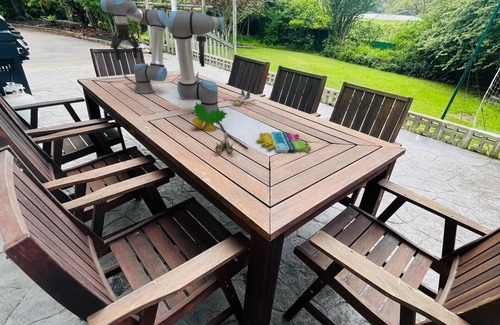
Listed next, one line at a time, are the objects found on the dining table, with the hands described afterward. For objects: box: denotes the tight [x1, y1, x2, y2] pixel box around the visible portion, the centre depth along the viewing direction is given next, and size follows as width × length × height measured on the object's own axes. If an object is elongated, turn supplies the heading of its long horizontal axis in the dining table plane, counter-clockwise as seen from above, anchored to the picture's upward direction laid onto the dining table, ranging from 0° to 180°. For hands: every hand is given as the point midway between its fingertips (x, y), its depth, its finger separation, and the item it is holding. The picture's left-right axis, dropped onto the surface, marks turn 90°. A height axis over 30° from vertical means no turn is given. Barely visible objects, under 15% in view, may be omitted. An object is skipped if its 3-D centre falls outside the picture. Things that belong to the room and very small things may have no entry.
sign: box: [256, 131, 312, 154], centre depth 152 cm, size 26×2×30 cm
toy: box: [223, 89, 257, 106], centre depth 219 cm, size 28×7×30 cm
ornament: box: [191, 102, 228, 132], centre depth 162 cm, size 21×8×15 cm, turn 105°
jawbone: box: [214, 131, 234, 156], centre depth 136 cm, size 9×15×10 cm
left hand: (127, 58), depth 179 cm, fingers open, 13 cm apart
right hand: (201, 65), depth 209 cm, fingers open, 13 cm apart
